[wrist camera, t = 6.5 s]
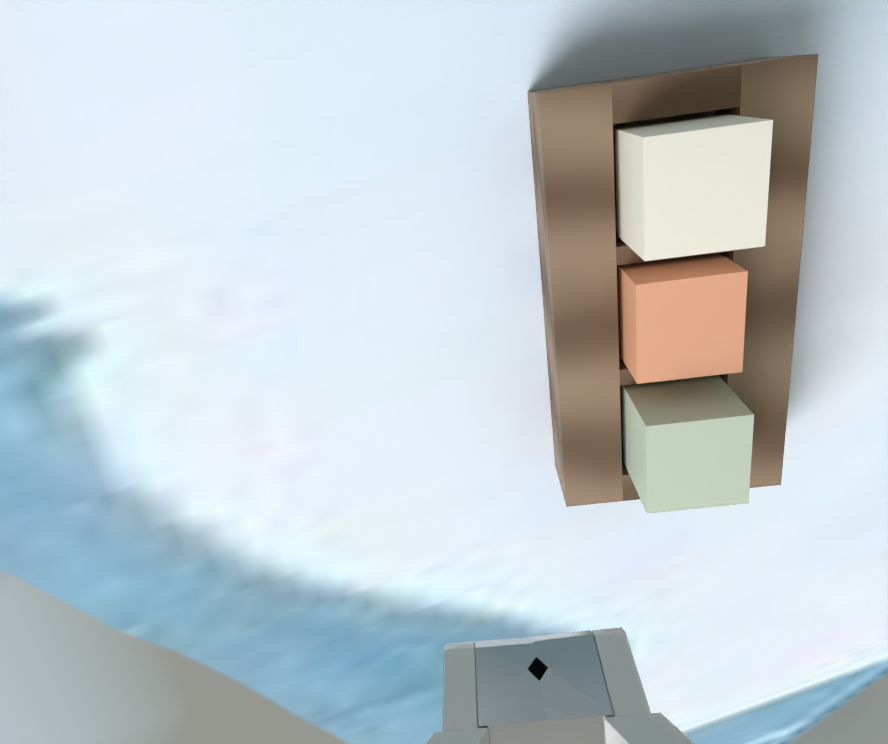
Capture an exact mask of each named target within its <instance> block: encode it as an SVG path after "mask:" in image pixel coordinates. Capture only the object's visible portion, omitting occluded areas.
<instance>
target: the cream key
mask: <svg viewBox="0 0 888 744" xmlns="http://www.w3.org/2000/svg"><path fill="white" fill-rule="evenodd" d="M772 130H773V120H770V119H762V118H754V117H746V116H737V115H729V114H720V115H713V116H706V117H698V118H691V119H684V120H676V121H669V122H662V123H654V124H647V125H640V126H633V127H625V128H618V129H615V162H616V201H617V236H618V237H619V238H620V239H621V240H622V241H623V242H624V243H626V244H627V245H628V246H629V247H630V248H631V249H632V250H633V251H634V252H635V253H636V254H637V255H638V256H639V257H641V258H642V259H643V260H644V261H651V260H659V259H667V258H675V257H683V256H691V255H699V254H707V253H715V252H723V251H731V250H739V249H747V248H755V247H763V246H765V239H766V223H767V207H768V192H769V176H770V161H771V145H772Z"/></svg>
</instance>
